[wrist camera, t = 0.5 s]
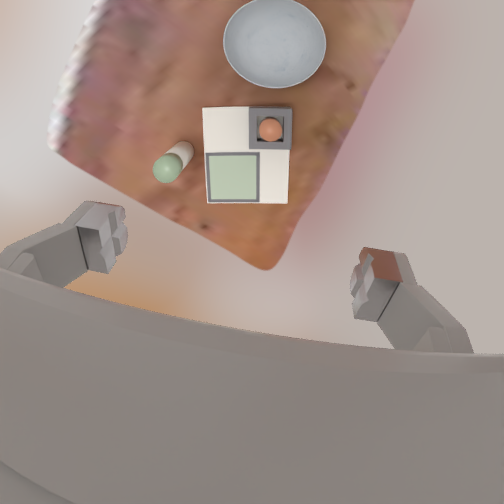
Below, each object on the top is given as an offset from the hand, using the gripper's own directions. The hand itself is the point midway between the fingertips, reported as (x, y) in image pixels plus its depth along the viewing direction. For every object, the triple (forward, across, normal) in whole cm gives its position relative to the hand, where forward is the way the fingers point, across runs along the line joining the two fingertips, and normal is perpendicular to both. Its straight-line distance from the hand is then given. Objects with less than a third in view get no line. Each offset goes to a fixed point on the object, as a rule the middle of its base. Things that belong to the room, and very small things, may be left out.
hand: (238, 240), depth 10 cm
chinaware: (+48, +3, -6) cm, 49 cm away
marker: (+44, +16, +15) cm, 49 cm away
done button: (+44, +1, +8) cm, 45 cm away
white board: (+45, +4, +14) cm, 48 cm away
